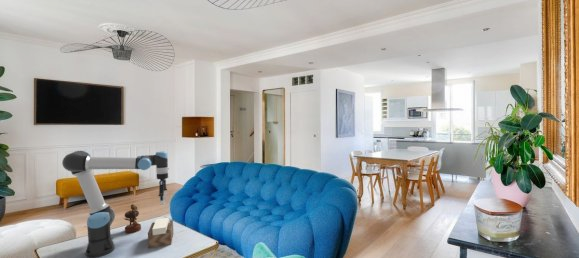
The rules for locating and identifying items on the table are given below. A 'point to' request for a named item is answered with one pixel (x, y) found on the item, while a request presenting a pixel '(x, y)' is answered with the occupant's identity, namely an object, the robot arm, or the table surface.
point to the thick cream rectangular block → (160, 226)
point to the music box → (132, 220)
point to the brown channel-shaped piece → (160, 236)
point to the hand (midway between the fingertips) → (163, 202)
